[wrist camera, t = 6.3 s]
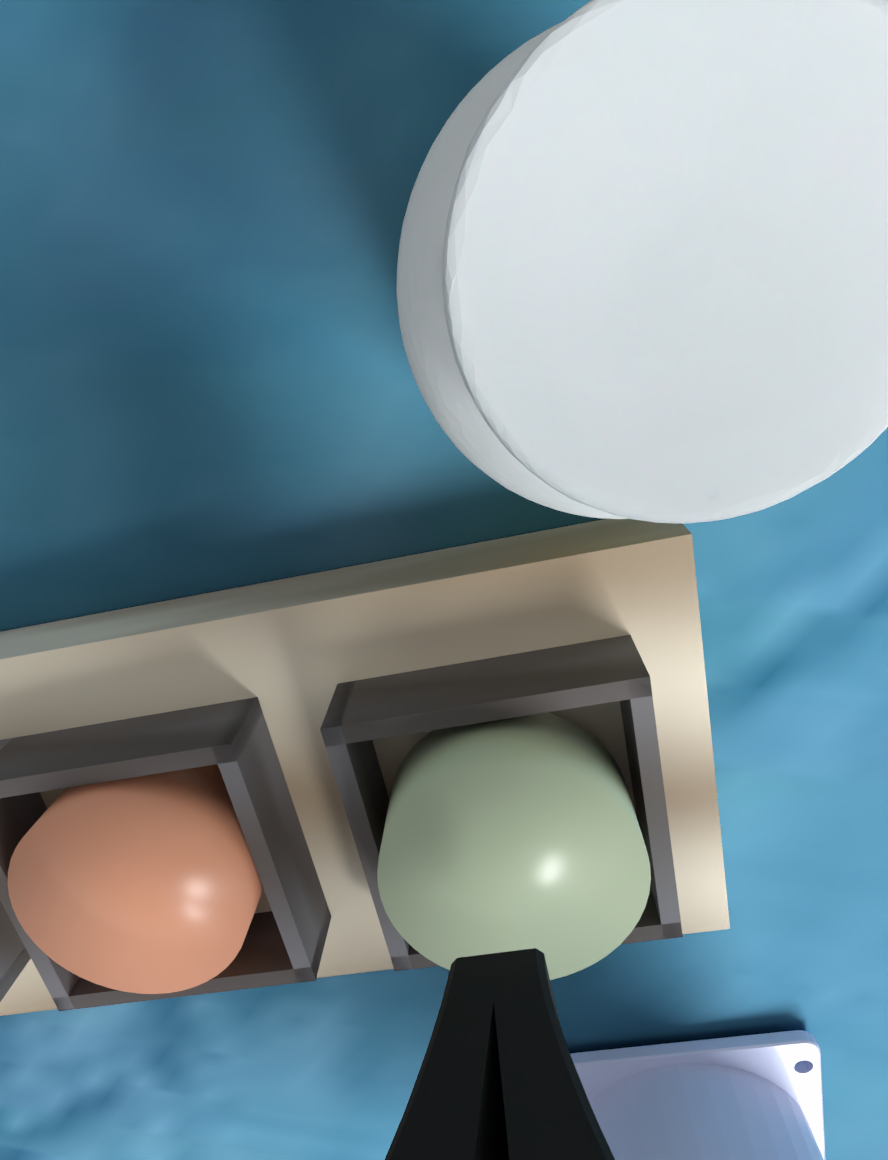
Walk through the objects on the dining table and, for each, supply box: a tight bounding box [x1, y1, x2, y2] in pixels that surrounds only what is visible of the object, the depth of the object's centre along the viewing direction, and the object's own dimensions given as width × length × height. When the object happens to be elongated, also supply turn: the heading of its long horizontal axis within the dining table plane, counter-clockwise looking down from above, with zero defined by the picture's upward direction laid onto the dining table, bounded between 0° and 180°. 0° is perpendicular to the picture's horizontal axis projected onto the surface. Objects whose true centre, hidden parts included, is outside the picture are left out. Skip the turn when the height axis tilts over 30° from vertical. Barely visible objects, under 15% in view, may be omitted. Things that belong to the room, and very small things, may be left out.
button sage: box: [377, 713, 651, 980], centre depth 14 cm, size 5×5×2 cm
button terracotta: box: [7, 764, 264, 994], centre depth 16 cm, size 5×5×2 cm
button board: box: [0, 519, 730, 1016], centre depth 17 cm, size 10×25×4 cm, turn 102°
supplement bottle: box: [397, 0, 888, 524], centre depth 10 cm, size 5×5×10 cm
